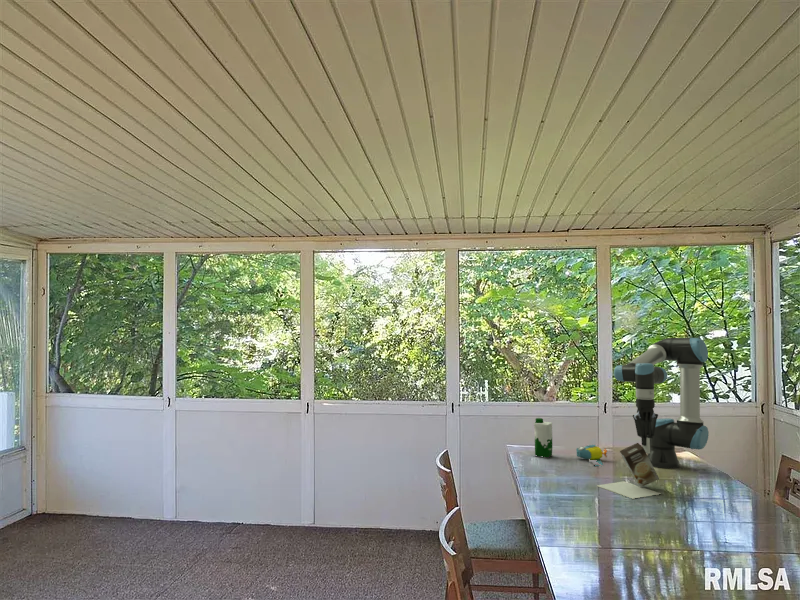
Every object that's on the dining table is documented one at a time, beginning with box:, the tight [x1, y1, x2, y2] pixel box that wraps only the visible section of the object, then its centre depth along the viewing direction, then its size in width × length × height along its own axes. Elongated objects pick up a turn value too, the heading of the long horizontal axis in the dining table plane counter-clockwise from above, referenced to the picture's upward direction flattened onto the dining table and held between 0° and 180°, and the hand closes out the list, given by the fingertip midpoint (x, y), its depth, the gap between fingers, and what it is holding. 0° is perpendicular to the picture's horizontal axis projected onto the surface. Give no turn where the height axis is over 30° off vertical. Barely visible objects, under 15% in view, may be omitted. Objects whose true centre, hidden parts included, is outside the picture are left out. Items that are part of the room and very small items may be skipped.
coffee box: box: [619, 442, 660, 488], centre depth 234 cm, size 9×6×16 cm
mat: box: [596, 480, 662, 500], centre depth 231 cm, size 16×20×1 cm
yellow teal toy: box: [575, 444, 608, 467], centre depth 285 cm, size 28×9×15 cm
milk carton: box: [533, 417, 553, 458], centre depth 295 cm, size 9×9×20 cm
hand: (646, 452), depth 236 cm, fingers closed
